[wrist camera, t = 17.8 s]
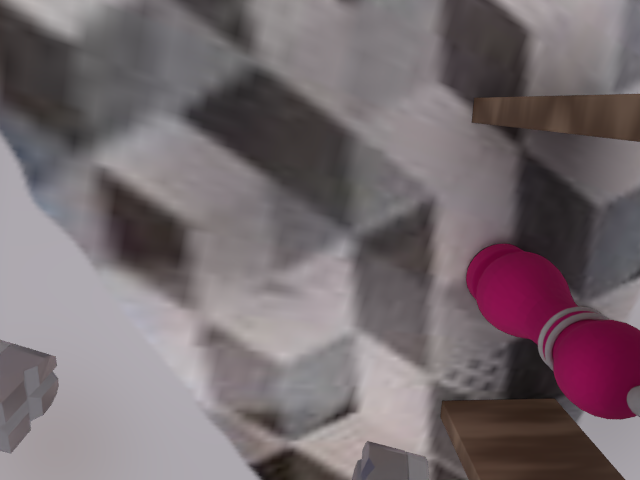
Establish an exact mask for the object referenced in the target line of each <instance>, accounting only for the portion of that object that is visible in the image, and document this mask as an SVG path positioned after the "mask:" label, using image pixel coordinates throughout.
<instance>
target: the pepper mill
mask: <svg viewBox="0 0 640 480" xmlns="http://www.w3.org/2000/svg"><path fill="white" fill-rule="evenodd" d="M466 281H467V286H468V289H469V291H470V293H471V294H472V296H473V297H474V298H475V299H476V300H477V304H478V307H479V309H480V311H481V313H482V315H483V316H484V317H485V318H486V320H487V321H489V322H490V323H491V324H492V325H493V326H494V327H496V328H497V329H499V330H501V331H503V332H505V333H507V334H510V335H513V336H516V337H521V338H527V339H531V340H532V341H534V342H535V343H536V344H537V345H538V350H539V354H540V356H541V358H542V360H543V361H544V362H545V363H546V364H547V365H548V366H549V367H550V369H551V370H552V371H553V372H554V376H555V379H556V382H557V384H558V386H559V388H560V389H561V391H562V392H563V393H564V395H565V396H566V397H567V398H568V399H569V400H570V401H571V402H572V403H574V404H575V405H576V406H577V407H579V408H580V409H581V410H583V411H585V412H588V413H589V414H592V415H594V416H597V417H601V418H606V419H626V418H630V417H635V416H639V417H640V330H638V329H637V328H635V327H633V326H631V325H629V324H627V323H623V322H619V321H614V320H610V319H608V318H607V317H605V316H603V315H602V314H601V313H600V312H598V311H597V310H594V309H592V308H589V307H578V306H577V305H576V304H575V302H574V301H573V298H572V296H571V293H570V290H569V287H568V284H567V282H566V280H565V278H564V277H563V275H562V274H561V272H560V271H559V270H558V269H557V268H556V267H555V266H554V265H553V264H552V263H551V262H550V261H549V260H547V259H546V258H544V257H542V256H540V255H538V254H535V253H531V252H525V251H523V250H522V249H520V248H518V247H517V246H514V245H511V244H496V245H492V246H489V247H487V248H485V249H484V250H482V251H481V252H479V253H478V254H477V255H476V256H475V257H474V259H473V260H472V262H471V263H470V265H469V268H468V271H467V276H466Z"/></svg>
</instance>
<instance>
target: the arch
mask: <svg viewBox="0 0 640 480" xmlns="http://www.w3.org/2000/svg"><path fill="white" fill-rule="evenodd" d="M472 122H473V123H482V124H490V125H499V126H508V127H516V128H525V129H534V130H542V131H551V132H560V133H569V134H577V135H586V136H595V137H603V138H612V139H621V140H629V141H638V142H640V94H613V95H572V96H531V97H491V98H474V106H473V116H472ZM441 419H442V422H443V424H444V426H445V428H446V430H447V433H448V435H449V437H450V439H451V441H452V444H453V446H454V448H455V450H456V452H457V455H458V457H459V459H460V461H461V463H462V466H463V468H464V470H465V472H466V474H467V477H468V479H469V480H625V479H624V478H623V477H622V475H621V474H620V473H619V472H618V471H617V470H616V469H615V467H614V466H613V465H612V464H611V463H610V462H609V460H608V459H607V458H606V457H605V456H604V455H603V454H602V452H601V451H600V450H599V449H598V448H597V447H596V446H595V444H594V443H593V442H592V441H591V440H590V439H589V437H588V436H587V435H586V434H585V433H584V432H583V431H582V430H581V428H580V427H579V426H578V425H577V424H576V422H575V421H574V420H573V419H572V418H571V417H570V416H569V414H568V413H567V412H566V411H565V410H564V409H563V408H562V406H561V405H560V404H559V403H558V402H557V401H556V399H511V400H463V401H442V408H441Z"/></svg>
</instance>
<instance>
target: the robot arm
mask: <svg viewBox="0 0 640 480" xmlns="http://www.w3.org/2000/svg"><path fill="white" fill-rule="evenodd" d="M56 366H57V363H56V357H55V356H52V355H49V354H46V353H42V352H39V351H36V350H33V349H29V348H26V347H22V346H19V345H16V344H13V343H9V342H5V341H2V340H0V451H3V452H7V453H12V452H13V450H14V449H15V448H16V447H17V446H18V445H19V443H20V442H21V441H22V440H23V439H24V437H25V436H26V435H27V434H28V433H29V431H30V430H31V421H32V420H33V419H36V418H38V417H40V416H42V415H44V413H45V412H46V411H47V410H48V408H49V407H50V406H51V404H52V402H53V400H54V398H55V396H56V394H57V390H58V378H57V377H56V375H55V374H54V373H53V370H54V368H55V367H56ZM352 480H429V471H428V461H427V459H426V457H424V456H421V455H417V454H413V453H409V452H405V451H404V450H400V449H396V448H392V447H388V446H385V445H381V444H377V443H373V442H369V441H367V442H366V443H365V446H364V448H363V451H362V459H360V460H358V462H357V464H356V467H355V469H354V473H353V477H352Z"/></svg>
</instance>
